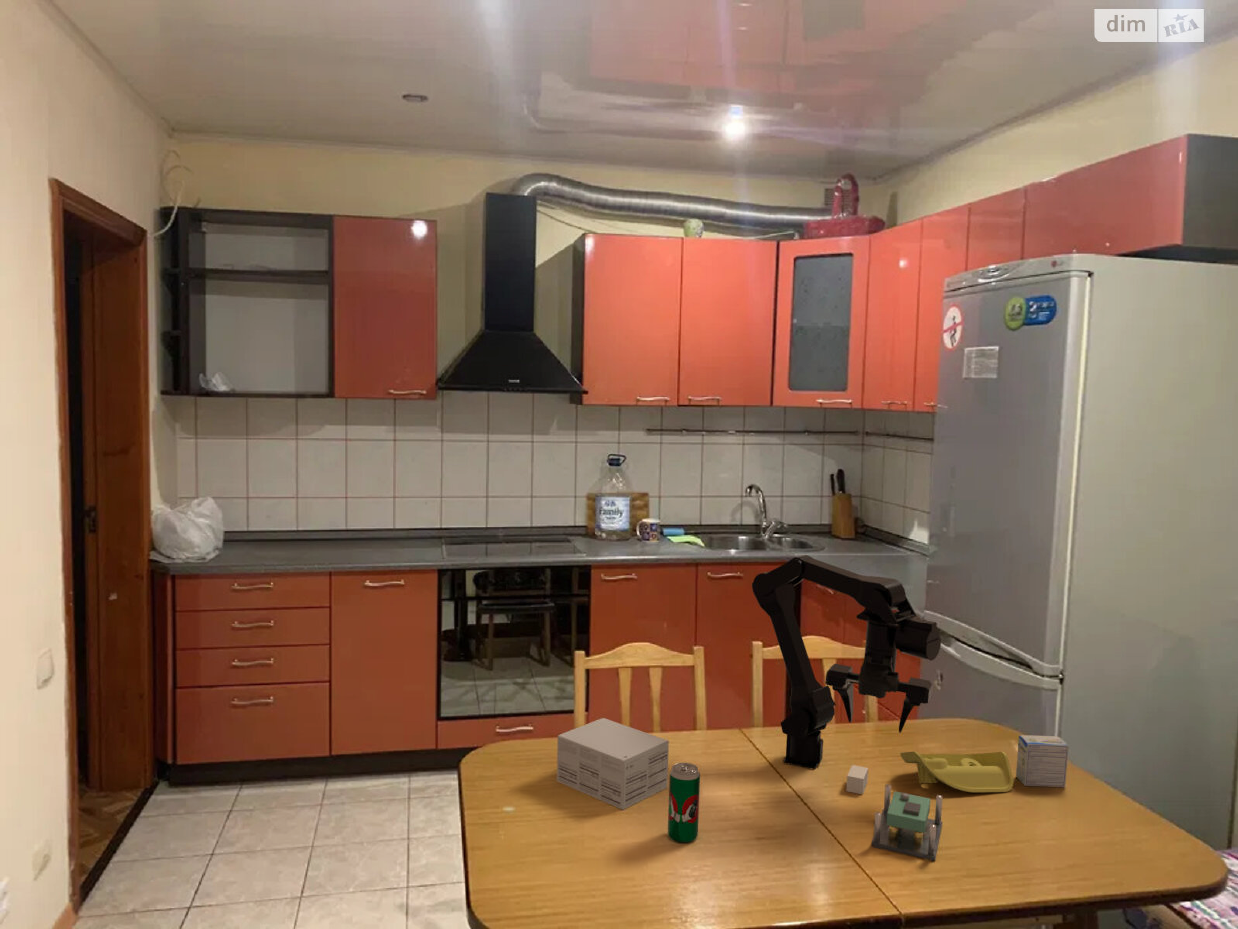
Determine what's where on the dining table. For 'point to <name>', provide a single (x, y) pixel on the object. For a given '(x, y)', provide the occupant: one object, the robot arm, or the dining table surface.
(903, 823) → the board
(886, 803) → the chassis
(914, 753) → the plastic component
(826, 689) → the robot arm
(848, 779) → the white rectangular block
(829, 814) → the dining table surface
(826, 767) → the dining table surface
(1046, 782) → the medicine box
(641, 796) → the supplement box
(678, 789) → the soda can
